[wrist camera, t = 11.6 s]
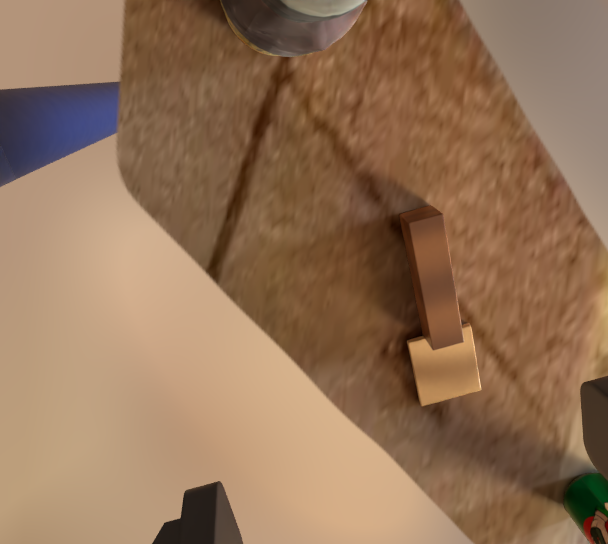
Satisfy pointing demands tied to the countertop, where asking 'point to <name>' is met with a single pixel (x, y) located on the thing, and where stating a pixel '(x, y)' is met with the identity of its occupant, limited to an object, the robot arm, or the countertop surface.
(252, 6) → the sauce bottle
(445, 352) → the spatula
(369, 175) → the countertop surface
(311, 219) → the countertop surface
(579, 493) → the soda can
